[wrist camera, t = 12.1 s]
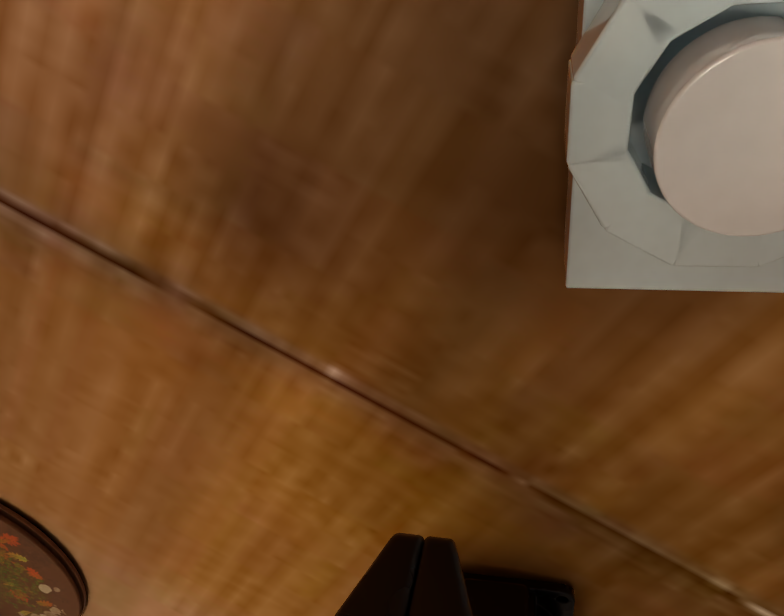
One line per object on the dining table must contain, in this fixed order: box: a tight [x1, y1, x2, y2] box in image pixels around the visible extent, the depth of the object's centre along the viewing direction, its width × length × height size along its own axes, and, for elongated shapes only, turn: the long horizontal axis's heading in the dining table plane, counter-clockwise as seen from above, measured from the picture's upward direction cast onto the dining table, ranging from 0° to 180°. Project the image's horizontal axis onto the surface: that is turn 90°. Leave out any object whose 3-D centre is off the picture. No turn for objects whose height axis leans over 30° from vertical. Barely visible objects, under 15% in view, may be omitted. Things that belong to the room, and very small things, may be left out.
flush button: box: [643, 16, 784, 236], centre depth 12 cm, size 4×4×2 cm
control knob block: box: [564, 0, 784, 293], centre depth 14 cm, size 10×6×4 cm, turn 5°
